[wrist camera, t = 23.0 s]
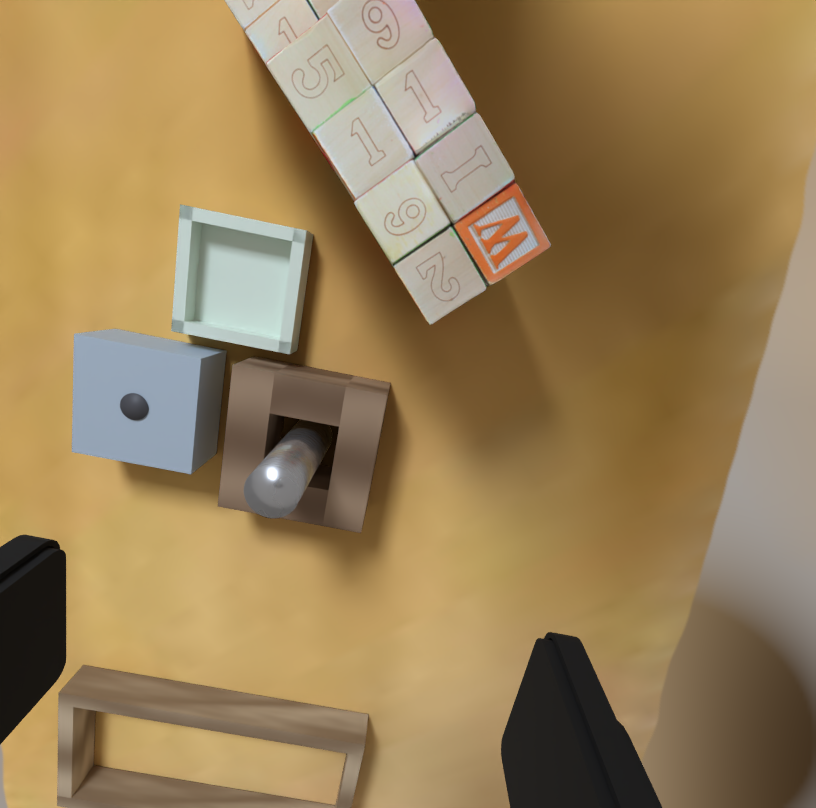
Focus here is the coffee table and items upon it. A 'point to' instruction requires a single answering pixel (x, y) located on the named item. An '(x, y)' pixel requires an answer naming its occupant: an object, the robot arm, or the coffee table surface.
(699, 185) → the coffee table surface
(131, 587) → the coffee table surface
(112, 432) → the block
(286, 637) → the coffee table surface
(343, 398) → the square-holed wooden block
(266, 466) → the cylinder
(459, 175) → the stack of blocks
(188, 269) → the tray
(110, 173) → the coffee table surface
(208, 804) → the rectangular wooden corral frame
